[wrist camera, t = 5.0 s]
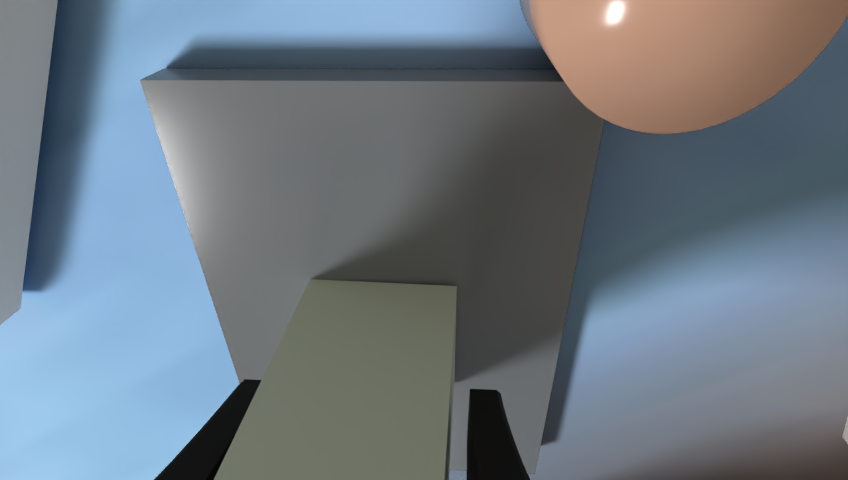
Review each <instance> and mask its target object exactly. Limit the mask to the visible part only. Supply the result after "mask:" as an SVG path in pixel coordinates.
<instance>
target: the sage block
mask: <svg viewBox="0 0 848 480" xmlns="http://www.w3.org/2000/svg"><path fill="white" fill-rule="evenodd" d="M456 300H457V286H444V285H423V284H402V283H381V282H360V281H339V280H318V279H310V280H309V282H308V285H307V287H306V289H305V291H304V293H303V295H302V297H301V299H300V301H299V303H298V305H297V307H296V310H295V312H294V314H293V316H292V318H291V320H290V322H289V324H288V326H287V328H286V330H285V332H284V335H283V337H282V339H281V341H280V343H279V345H278V347H277V349H276V351H275V353H274V355H273V357H272V360H271V362H270V364H269V366H268V368H267V370H266V372H265V374H264V376H263V378H262V380H261V382H260V384H259V387H258V389H257V391H256V393H255V395H254V397H253V399H252V401H251V403H250V405H249V407H248V409H247V412H246V414H245V416H244V418H243V420H242V422H241V424H240V426H239V428H238V430H237V432H236V434H235V437H234V439H233V441H232V443H231V445H230V447H229V449H228V451H227V453H226V455H225V457H224V459H223V461H222V464H221V466H220V468H219V470H218V472H217V474H216V476H215V478H214V480H449V472H450V454H451V437H452V419H453V401H454V380H455V340H456Z"/></svg>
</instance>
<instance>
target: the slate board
mask: <svg viewBox="0 0 848 480" xmlns="http://www.w3.org/2000/svg"><path fill="white" fill-rule="evenodd" d="M140 82H141V85H142V88H143V91H144V94H145V97H146V100H147V103H148V106H149V109H150V112H151V115H152V118H153V121H154V124H155V127H156V130H157V133H158V137H159V140H160V143H161V146H162V149H163V152H164V155H165V158H166V161H167V164H168V167H169V170H170V173H171V176H172V179H173V182H174V185H175V188H176V191H177V194H178V197H179V200H180V203H181V206H182V209H183V212H184V216H185V219H186V222H187V225H188V228H189V231H190V234H191V237H192V240H193V243H194V246H195V249H196V252H197V255H198V258H199V261H200V264H201V267H202V270H203V273H204V276H205V279H206V282H207V285H208V288H209V291H210V295H211V298H212V301H213V304H214V307H215V310H216V313H217V316H218V319H219V322H220V325H221V328H222V331H223V334H224V337H225V340H226V343H227V346H228V349H229V352H230V355H231V358H232V361H233V364H234V367H235V371H236V374H237V377H238V380H239V383H241V382H242V381H243V380H244V379H251V380H262V378H263V376H264V374H265V372H266V370H267V368H268V366H269V364H270V362H271V360H272V357H273V355H274V353H275V351H276V349H277V347H278V345H279V343H280V341H281V339H282V337H283V335H284V332H285V330H286V328H287V326H288V324H289V322H290V320H291V318H292V316H293V314H294V312H295V310H296V307H297V305H298V303H299V301H300V299H301V297H302V295H303V293H304V291H305V289H306V287H307V285H308V282H309V280H310V279H318V280H339V281H360V282H381V283H402V284H423V285H444V286H457V300H456V340H455V380H454V401H453V419H452V437H451V454H450V470H459V471H467V429H468V412H469V395H470V389H489V390H497V391H498V392H500V393H501V397H502V401H503V405H504V409H505V413H506V416H507V420H508V423H509V426H510V429H511V432H512V435H513V438H514V441H515V443H516V446H517V449H518V452H519V454H520V457H521V459H522V462H523V464H524V467H525V469H526V471H527V474H535V471H536V466H537V461H538V456H539V451H540V446H541V441H542V436H543V431H544V425H545V420H546V415H547V410H548V405H549V400H550V395H551V390H552V385H553V380H554V375H555V370H556V364H557V359H558V354H559V349H560V344H561V339H562V334H563V329H564V324H565V319H566V314H567V309H568V304H569V298H570V293H571V288H572V283H573V278H574V273H575V268H576V263H577V258H578V253H579V248H580V243H581V237H582V232H583V227H584V222H585V217H586V212H587V207H588V202H589V197H590V192H591V187H592V182H593V177H594V171H595V166H596V161H597V156H598V151H599V146H600V141H601V136H602V131H603V126H604V121H605V119H603V118H601V117H599V116H598V115H596V114H595V113H594V112H592V111H591V110H590V109H588V108H587V107H586V106H585V105H584V104H583V103H582V102H581V101H580V100H579V99H578V98H577V97H576V96H575V95H574V94H573V93H572V91H571V90H570V89H569V87H568V86H567V85H566V83H565V82H564V80H563V79H562V77H561V76H560V74H559V73H558V71H557V70H556V69H162V70H160V71H158V72H156V73H154V74H152V75H149V76H147V77H145V78H143V79H141V80H140Z"/></svg>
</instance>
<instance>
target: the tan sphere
mask: <svg viewBox="0 0 848 480" xmlns="http://www.w3.org/2000/svg"><path fill="white" fill-rule="evenodd" d="M519 1H520V6H521V9H522V12H523V15H524V18H525V20H526V22H527V24H528V26H529V28H530V30H531V32H532V33H533V35H534V36H535V38H536V39H537V41H538V42H539V44H540V45H541V47H542V48H543V50H544V51H545V53H546V54H547V56H548V57H549V59H550V61H551V62H552V64H553V65H554V67H555V68H556V70H557V71H558V73H559V74H560V76H561V77H562V79H563V80H564V82H565V83H566V85H567V86H568V87H569V89H570V90H571V91H572V93H573V94H574V95H575V96H576V97H577V98H578V99H579V100H580V101H581V102H582V103H583V104H584V105H585V106H586V107H587V108H588V109H590V110H591V111H592V112H594V113H595V114H596V115H598V116H599V117H601V118H603V119H605V120H607V121H609V122H611V123H612V124H615V125H618V126H621V127H623V128H626V129H629V130H634V131H639V132H644V133H656V134H671V133H683V132H689V131H695V130H700V129H704V128H707V127H711V126H714V125H718V124H720V123H723V122H725V121H728V120H731V119H733V118H736V117H738V116H740V115H742V114H744V113H746V112H747V111H749V110H751V109H753V108H755V107H757V106H758V105H760V104H762V103H763V102H765V101H766V100H768V99H769V98H771V97H773V96H774V95H775V94H777V93H778V92H779V91H781V90H782V89H783V88H784V87H786V86H787V85H788V84H790V83H791V82H792V81H793V80H794V79H795V78H796V77H797V76H799V75H800V74H801V73H802V72H803V71H804V70H805V69H806V68H807V67H808V66H809V65H810V64H811V63H812V62H813V61H814V60H815V59H816V57H817V56H818V55H819V54H820V53H821V52H822V51H823V50H824V49H825V47H826V46H827V45H828V43H829V42H830V41H831V39H832V38H833V37H834V35H835V34H836V33H837V31H838V30H839V29H840V27H841V25H842V24H843V22H844V21H845V19H846V17H847V16H848V0H519Z"/></svg>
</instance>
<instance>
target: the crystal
mask: <svg viewBox="0 0 848 480" xmlns="http://www.w3.org/2000/svg"><path fill="white" fill-rule="evenodd" d="M57 3H58V0H0V325H1V324H2V323H3V322H4V321H6V320H7V319H8V318H9V317H10V316H12V315H13V314H14V313H15V312H17V311H18V310H19V309H20V306H21V298H22V290H23V282H24V273H25V265H26V257H27V249H28V241H29V232H30V224H31V216H32V208H33V200H34V191H35V183H36V175H37V167H38V159H39V151H40V142H41V134H42V126H43V118H44V110H45V101H46V93H47V85H48V77H49V69H50V60H51V52H52V44H53V36H54V28H55V19H56V11H57Z"/></svg>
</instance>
